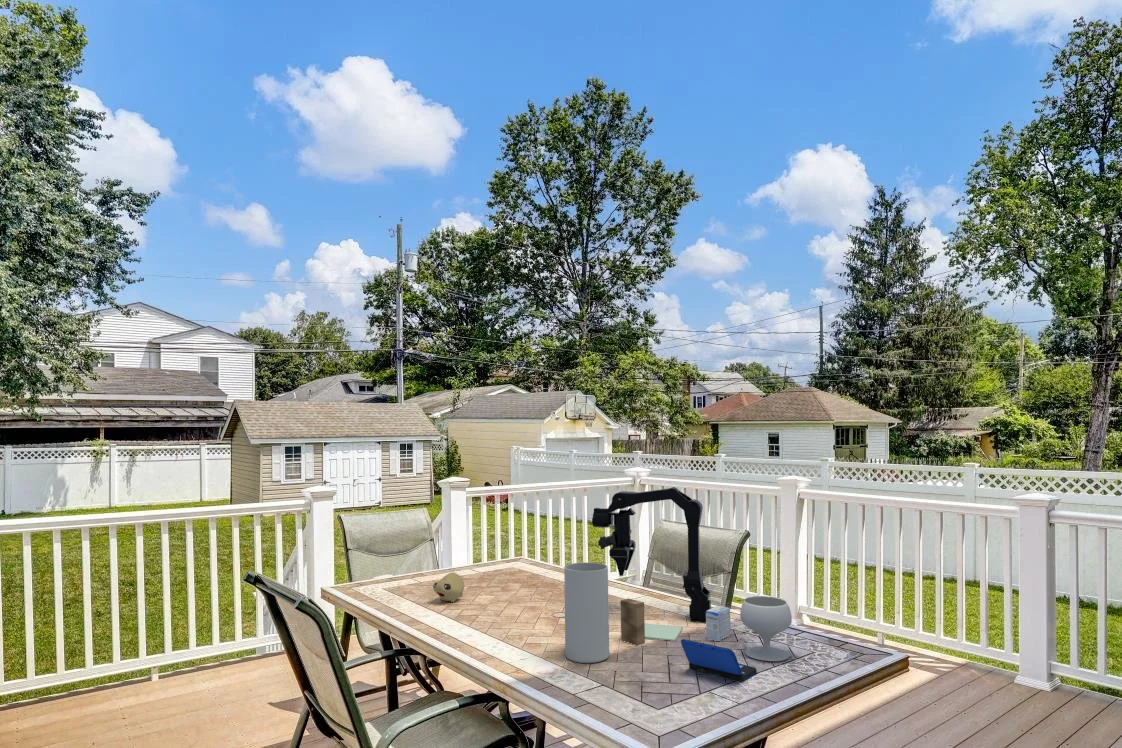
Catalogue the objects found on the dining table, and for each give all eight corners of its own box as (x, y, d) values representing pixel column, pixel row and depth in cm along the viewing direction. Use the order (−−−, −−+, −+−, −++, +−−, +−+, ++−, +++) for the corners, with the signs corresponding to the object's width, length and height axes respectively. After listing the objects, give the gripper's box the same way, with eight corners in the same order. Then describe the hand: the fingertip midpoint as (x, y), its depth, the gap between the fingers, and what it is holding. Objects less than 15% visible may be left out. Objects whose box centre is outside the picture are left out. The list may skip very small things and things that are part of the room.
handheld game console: (758, 673, 175) (757, 637, 176) (734, 688, 165) (733, 650, 166) (705, 660, 186) (704, 626, 186) (680, 674, 176) (679, 637, 176)
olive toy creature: (428, 603, 250) (428, 574, 251) (448, 596, 260) (449, 569, 261) (448, 607, 245) (448, 577, 246) (469, 599, 255) (469, 571, 256)
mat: (683, 628, 215) (683, 626, 215) (674, 641, 202) (674, 639, 202) (634, 624, 220) (634, 622, 220) (623, 636, 207) (623, 634, 207)
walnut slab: (644, 643, 201) (644, 602, 202) (637, 645, 198) (636, 604, 199) (629, 638, 206) (628, 598, 207) (621, 640, 203) (620, 600, 204)
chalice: (741, 661, 184) (739, 605, 185) (741, 645, 197) (739, 593, 198) (795, 665, 180) (792, 608, 181) (791, 649, 193) (789, 596, 195)
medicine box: (717, 633, 209) (716, 605, 210) (731, 636, 206) (730, 607, 207) (706, 639, 203) (705, 610, 204) (719, 642, 200) (718, 613, 201)
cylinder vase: (607, 665, 182) (605, 571, 184) (562, 663, 184) (560, 570, 186) (611, 650, 194) (609, 562, 196) (569, 648, 196) (567, 562, 199)
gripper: (605, 523, 246) (606, 567, 245) (594, 531, 228) (595, 577, 227) (635, 524, 243) (636, 568, 242) (626, 531, 225) (627, 579, 224)
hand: (623, 573), depth 234 cm, fingers open, 9 cm apart
